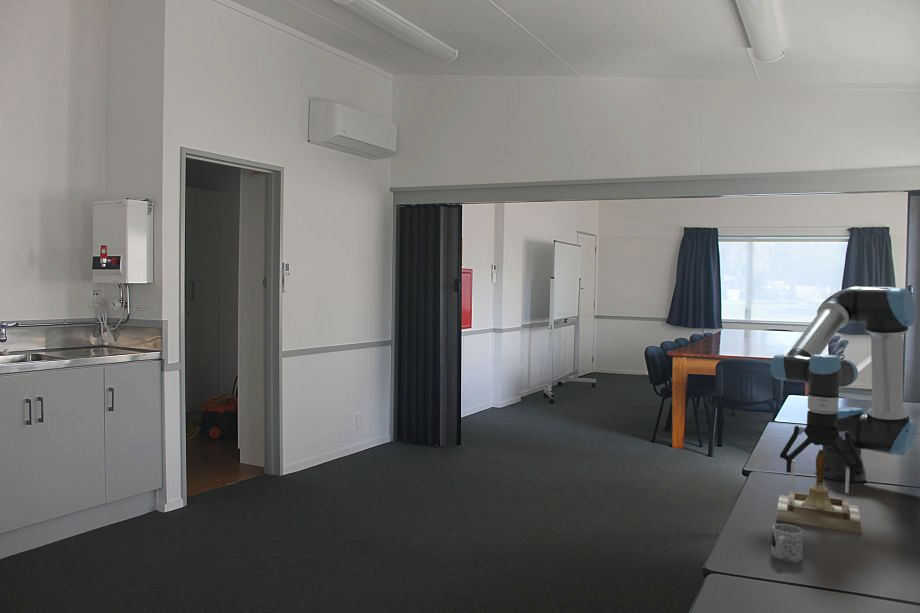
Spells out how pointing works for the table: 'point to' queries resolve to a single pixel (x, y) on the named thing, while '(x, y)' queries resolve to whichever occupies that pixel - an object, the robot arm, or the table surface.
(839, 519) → the stand
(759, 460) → the table surface
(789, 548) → the mug
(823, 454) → the hand bell
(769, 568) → the table surface
